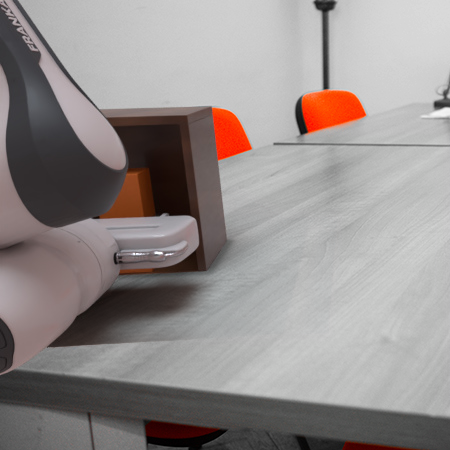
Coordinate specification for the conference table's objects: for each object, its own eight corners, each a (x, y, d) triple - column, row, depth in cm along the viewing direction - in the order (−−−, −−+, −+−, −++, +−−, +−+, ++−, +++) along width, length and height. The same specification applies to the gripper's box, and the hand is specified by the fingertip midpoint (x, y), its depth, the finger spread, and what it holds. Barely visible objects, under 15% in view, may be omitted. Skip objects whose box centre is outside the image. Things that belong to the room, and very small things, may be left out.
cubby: (53, 290, 68) (17, 119, 62) (95, 256, 79) (69, 110, 73) (208, 282, 69) (187, 114, 63) (228, 250, 80) (211, 106, 75)
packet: (109, 274, 68) (91, 175, 65) (122, 262, 72) (106, 168, 69) (152, 272, 69) (137, 173, 65) (162, 260, 72) (148, 167, 69)
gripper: (175, 225, 53) (209, 191, 67) (-56, 234, 52) (26, 198, 65) (183, 288, 55) (215, 243, 68) (-40, 298, 54) (37, 250, 67)
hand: (122, 221), depth 67 cm, fingers open, 8 cm apart
